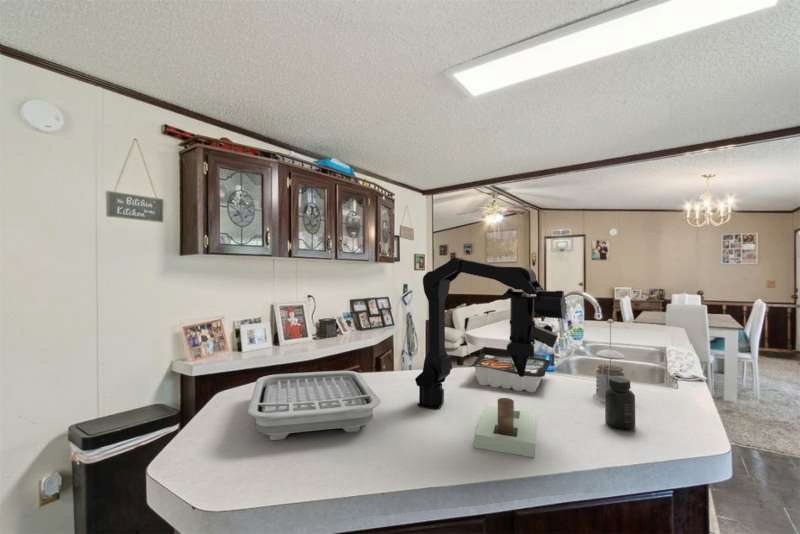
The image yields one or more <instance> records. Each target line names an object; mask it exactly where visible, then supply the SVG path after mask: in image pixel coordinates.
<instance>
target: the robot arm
mask: <svg viewBox="0 0 800 534" xmlns="http://www.w3.org/2000/svg"><path fill="white" fill-rule="evenodd" d="M461 273H463V274H467V275H468V274H469V275H471V276H476V277H482V278H485V279H490V280H495V281H497V282H499V283H501V284H503V285H505V286H506V287H510V288H508V289H507V290H506V291H505V292H504V293H503V294H502V298H508V299H510V303H509V305H510V307H509V308H510V313H509V314H510V317H509V326H510V327H509V329H510V330H509V331H510V332H509V334H510V335H509V342H508V343H507V345H506V355H508V356H510V357H512V360H513V362H514V364H515V367H516V369H517V372H518V374H519V376H520V377H524V373H525V369H526V364H527V359H528V357H535V344H536V341H537V342H539V343H542V344H544V345H546V346H547V347H549V348H553V349H554V346H555V344H556V342H557V339H558V337H559V335H558V333H557V332H556V331H553V327H552V326H551V325H549V324H545V325H544V326H543V327H542V326H539V325H537V324H536V320H535V318H534V316H535V314H538V317H539V318H548V319H558V320H559V319H561V320H565V318H566V316H567V307H568V306H567V303H566V301H567V300H566V296H565V291H564V290H545V289H544V288H543V287H542V285H541V284H540V283H539V281H538V280H537V275H536V272H535V271H534V270H533V269H532V268H531V267H528V266H527V267H526V266H499V265H495V264H491V263H485V262H480V261H476V260H475V261H474V260H470V259H466V258H463V257H452V258H451V259H450V260H449V261H447V262H446V263H444V264H442V265H440V266H438V267H436V268H434V270H432V271H428V272H426V273H425V274H424V275H423V277H422V285H423V292H424V294H425V297H426V299H427V302H428V350H427V352H426V355H425V358H424V360H423V366H422V367H423V368H422V372H421V373H419V374H418V375H417V376H416V377H415V379H414V380H415V383H416V384H415V385H416V386H417V387H418V388H419V389H418V390H419V396H418V398H419V399H418V400H419V401H418V403H417V407H418V408H420V407H421V408H425V409H426V408H427V409H434V410H435V409H436V410H439V409H440V408H441V407H442V405H443V404H444V402H445V389H444V388H443V383H445V381H446V378H447V377H449V375H450V373H451V371H452V370H453V366H452V360H453V356H452V355H451V354H450V355H449V354H448V352H447V351H446V340H445V339H446V333H445V332H446V331H445V329H446V307H445V306H446V299H447V297H448V294H449V292H450V286H451V282H453V281H455V280H456V279H457V278H458V277H459V275H460V274H461ZM515 290H516V291H515ZM517 290H518V291H517ZM520 290H522V291H520ZM534 312H535V314H534Z"/></svg>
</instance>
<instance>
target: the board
mask: <svg viewBox="0 0 800 534" xmlns="http://www.w3.org/2000/svg"><path fill="white" fill-rule="evenodd" d="M536 427H537V411H536V410H529V409H523V408H515V407H514V433H513V434H512V436H506V435H500V434H499V432H498V431H497V428H498V405H493V404H492V405H491V404H485V407H484V409H483V411H482V414H481V416H480V419H479V422H478V424H477V427H476V429H475V431H474V434H473V435H474V438H473V439H474V440H473V441H474V442H473V443H474V444H473V445H474V446H473V447H474V448H476V449H480V450H488V451H493V452H499V453H504V454H505V453H506V454H512V455H519V456H524V457H530V458H536V435H537V433H536V431H537V430H536V429H537V428H536Z"/></svg>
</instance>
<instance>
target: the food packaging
mask: <svg viewBox="0 0 800 534" xmlns="http://www.w3.org/2000/svg"><path fill="white" fill-rule="evenodd" d="M550 365H551V360H549V359H545V358H542V357H535V356H532V357H531V356H530V357H528V359H527V364H526V369H525V373H524V377H520V376H519V374H518V372H517V369H516V367H515V364H514V362H513V360H512V357H511V356H501V355H499V356H498V355H493V354H492V355H491V354H487V353H481V354H479V356H478V357H477V358H476V359H475V361H474V362H473V363H472V364H471V365H469V366H468V367H470V368H471V367H474V372H475V376H476V378H477V381H478V383H479V385H481V386H486V385H487V386H490V387H491V388H497V387H498V388H500V387H501V388H502V389H506V388H507V389H508V390H510V389H511V388H512V389H513V390H515V391H518V392H522V391H524V390H525V391H526V392H529V393H535V392H536V390H537V389H538V387H539V386H540V382H541V380H542V378H543V377H545V376H546V372H547V370H548V369H549V367H550ZM507 389H506V390H507Z"/></svg>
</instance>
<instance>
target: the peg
mask: <svg viewBox="0 0 800 534" xmlns="http://www.w3.org/2000/svg"><path fill="white" fill-rule="evenodd" d="M514 401H515V400H514V399H512V398H509V397H499V398H498V399H497V406H498V428H497V431H498V432H499V434H500V435H506V436H512V434H513V433H514V408H515V404H514V403H515V402H514Z"/></svg>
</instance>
